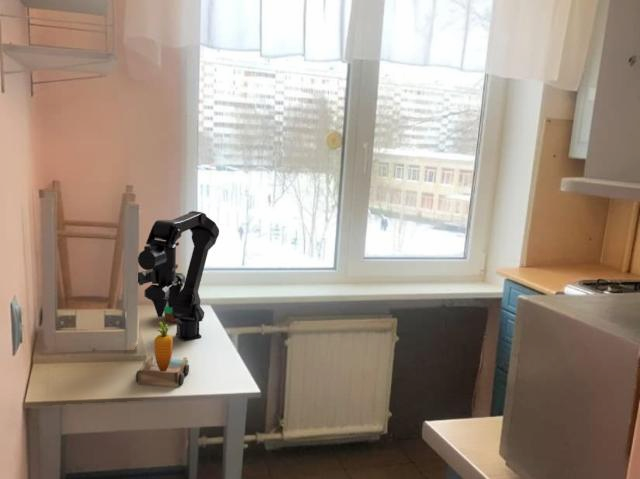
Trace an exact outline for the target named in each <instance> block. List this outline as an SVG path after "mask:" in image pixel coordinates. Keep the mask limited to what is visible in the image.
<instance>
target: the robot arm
mask: <svg viewBox="0 0 640 479" xmlns="http://www.w3.org/2000/svg"><path fill="white" fill-rule="evenodd" d="M188 230H189V231H190V233H191V241H192V243H193V248H192V249H193V250H192V254H191V257H190V261H189V265H188V269H187V271H186V272H187V273H186V276H185V274H184V273H183V272H176V270H177V269H178V266H179V264H177V263H176V261H177V259H176V258H177V256H176V255H177V250H176V249H177V246H180V243H179V242H178V240H179V239H180V238H181V237H182V234H183V233H184V232H187V231H188ZM219 236H220V228H219V226H218V225H217V224H216V222H215V221H214V220H212V219H211V218H210V217H208V216H207V214H206V213H204V212H202V211H194V210H192V211H189V212H188V213H186V214H184V215H180V216H178V217H176V218H174V219H158V220H155V222H154V224H153V225H152V227H151V228H150V232H149V234H148V237H147V240H146V242H145V245H144V247H143V248H144V249H143V251H141V252H139V255H138V257H137V262H138V265H139V267H140V268H142V269H143V270H142V271H138V272H137V273H138V282H137V284H138V285H139V286H143V285H145V284H148V283H151V285H149V286H148V287H147V288H145V289H144V291H143V292H144V297H145V298H146V299H148V300H150V301H152V303H153V306H154V309H155V312H156V315H157V317H158V318H162V317H163V316H164V310H165V307H166V304H167V301H168V306H169V307H171V308H172V311H173V316H174V319H178V323H176V333H175V336H177V337H178V338H179V339H180V340H182V341H184V342H185V341H190V340H195V339H196V340H197V339H201V338H202V335H201V334H200V322H203V319H204V317H205V311H204V310H203V308H202V307H201V298H200V295H199V290H200V285H201V281H202V277H203V272H204V268H205V265H206V261H207V257H208V253H209V251H210V249H212V248H213V247H214V246H215V245H216V242H217V240H218V237H219Z"/></svg>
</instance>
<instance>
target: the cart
mask: <svg viewBox="0 0 640 479" xmlns="http://www.w3.org/2000/svg"><path fill="white" fill-rule="evenodd" d="M153 358H154V356H153V355H152V354H149V356H148V357H147V358H146V360H144V362H143V364H142V365H141V366H140V368H139V369H138V370H137V371H136V374H135V381H136V382H137V383H138V384H137V385H141V386H142V385H143V386H156V387H169V388H170V387H172V388H173V387H174V388H178V387H179V385H183V384H184V381H185V375H187V376H188V375H189V373H190V372H189V371H190V364H189V359H187V357H182V359H181V358H180V359H179V358H178V359H177V358H171V360H170V364H169V366H168V368H167V370H166V371H160V369H159V368H158V365H157V362H156V361H155V363H154V361H153Z"/></svg>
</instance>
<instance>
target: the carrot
mask: <svg viewBox="0 0 640 479" xmlns="http://www.w3.org/2000/svg"><path fill="white" fill-rule="evenodd" d="M158 323H159V326H160V328H157V332H160V334H158V335H156V337H155V338H154V342H153V344H154V356H155V362H157V365H158V368H159V369H160V371H166V370H167V368H168V366H169V364H170V360H171V359H172V356H173V344H174V338H173V336H172V335H170V334H168V331H169V329H170V327H169V324H167V323H166V324H163V322H162V321H159V322H158ZM164 325H165V326H164Z"/></svg>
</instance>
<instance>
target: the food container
mask: <svg viewBox="0 0 640 479" xmlns="http://www.w3.org/2000/svg"><path fill="white" fill-rule="evenodd" d="M163 316H164V320H165V322H167V323H170V324H177V323H178V319H174V316H173V311H172V308H171V307H169V306H168V301H167V304H166V307H165V310H164V313H163Z"/></svg>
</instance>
